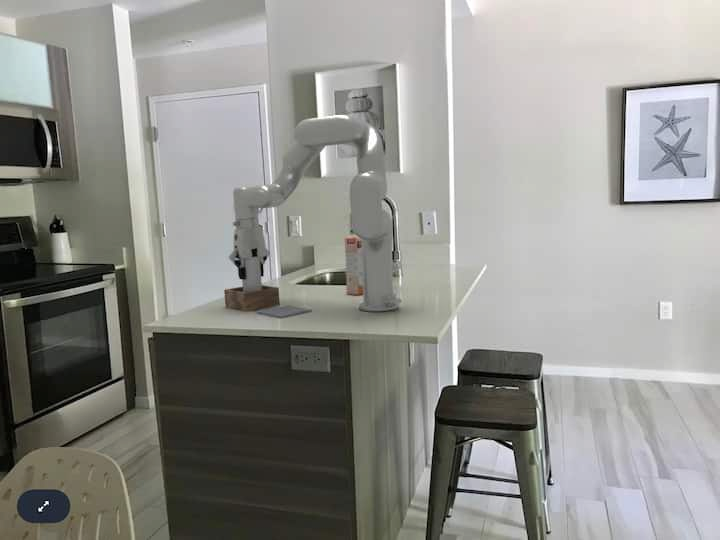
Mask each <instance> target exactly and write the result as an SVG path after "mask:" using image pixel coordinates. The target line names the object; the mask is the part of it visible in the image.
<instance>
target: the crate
mask: <svg viewBox="0 0 720 540" xmlns="http://www.w3.org/2000/svg"><path fill="white" fill-rule="evenodd" d="M224 303H225V308H227V307H229V308H228V309H232V308H233V309H232V310H236V311H238V310H239V311H242V312H246V313H248V312H252V311H253V312H254V311H257V310H262V309H266V308H268V309H269V308H272V307H273V308H274V307H276V306H281V303H280V290H279V287H277V286H270V285H263V284H262V290H259V291H253V292H247V293H246V292H243V286H238V287H233V288H231V287H230V288H225V289H224Z"/></svg>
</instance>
